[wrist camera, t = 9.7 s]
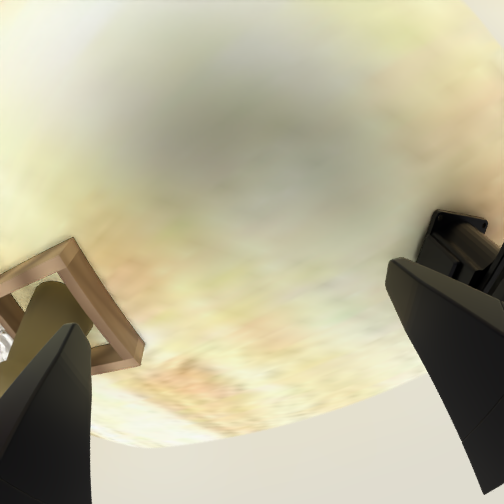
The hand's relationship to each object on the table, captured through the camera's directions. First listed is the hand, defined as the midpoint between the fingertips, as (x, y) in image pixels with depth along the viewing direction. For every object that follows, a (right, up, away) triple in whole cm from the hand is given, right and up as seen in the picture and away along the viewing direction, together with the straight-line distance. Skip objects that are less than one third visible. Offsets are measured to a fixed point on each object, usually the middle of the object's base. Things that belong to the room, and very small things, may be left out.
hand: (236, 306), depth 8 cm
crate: (-20, -5, +15) cm, 26 cm away
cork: (-16, -3, +15) cm, 22 cm away
